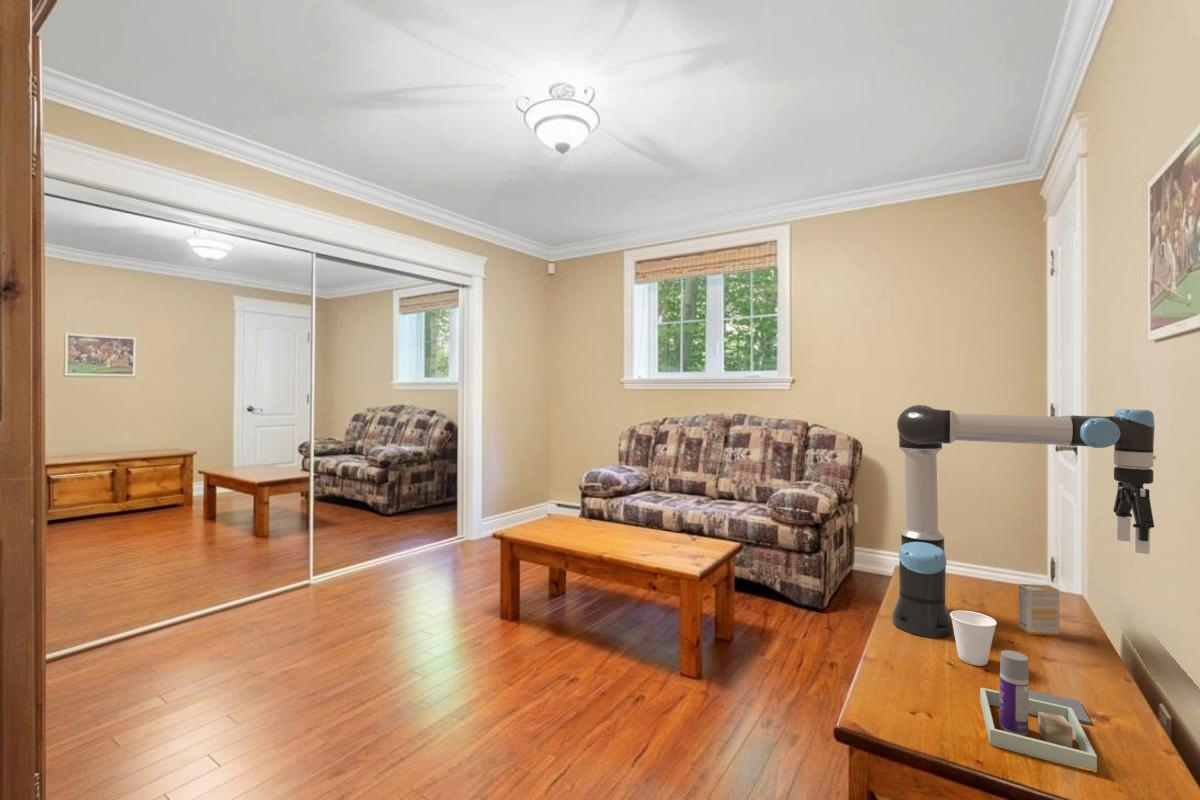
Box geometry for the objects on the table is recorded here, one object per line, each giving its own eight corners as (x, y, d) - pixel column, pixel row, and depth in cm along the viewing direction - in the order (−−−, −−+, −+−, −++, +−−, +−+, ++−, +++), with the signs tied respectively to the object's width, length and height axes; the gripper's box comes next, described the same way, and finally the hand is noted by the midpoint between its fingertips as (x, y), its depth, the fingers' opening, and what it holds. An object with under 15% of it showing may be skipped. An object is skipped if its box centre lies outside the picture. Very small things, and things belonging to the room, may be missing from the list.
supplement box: (1047, 629, 157) (1048, 584, 157) (1060, 636, 152) (1060, 590, 152) (1017, 627, 158) (1017, 583, 158) (1028, 635, 153) (1029, 589, 153)
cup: (988, 654, 141) (989, 613, 141) (1002, 673, 132) (1003, 628, 132) (944, 649, 144) (945, 608, 144) (955, 666, 135) (956, 622, 135)
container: (993, 722, 112) (994, 650, 112) (1014, 721, 112) (1015, 649, 112) (1012, 736, 107) (1013, 661, 107) (1034, 735, 108) (1035, 660, 108)
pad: (1035, 712, 116) (1035, 709, 116) (1027, 692, 123) (1027, 689, 123) (1091, 725, 111) (1091, 722, 111) (1079, 703, 119) (1079, 700, 119)
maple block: (1046, 743, 105) (1046, 723, 105) (1038, 731, 109) (1038, 711, 109) (1072, 748, 104) (1072, 727, 104) (1062, 735, 108) (1062, 715, 108)
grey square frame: (990, 745, 105) (990, 729, 105) (980, 700, 120) (980, 687, 120) (1096, 773, 97) (1096, 756, 97) (1071, 722, 112) (1071, 707, 112)
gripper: (1173, 474, 131) (1171, 561, 132) (1135, 463, 153) (1133, 537, 153) (1131, 471, 135) (1129, 556, 135) (1100, 461, 157) (1098, 534, 157)
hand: (1132, 546), depth 144 cm, fingers open, 13 cm apart
